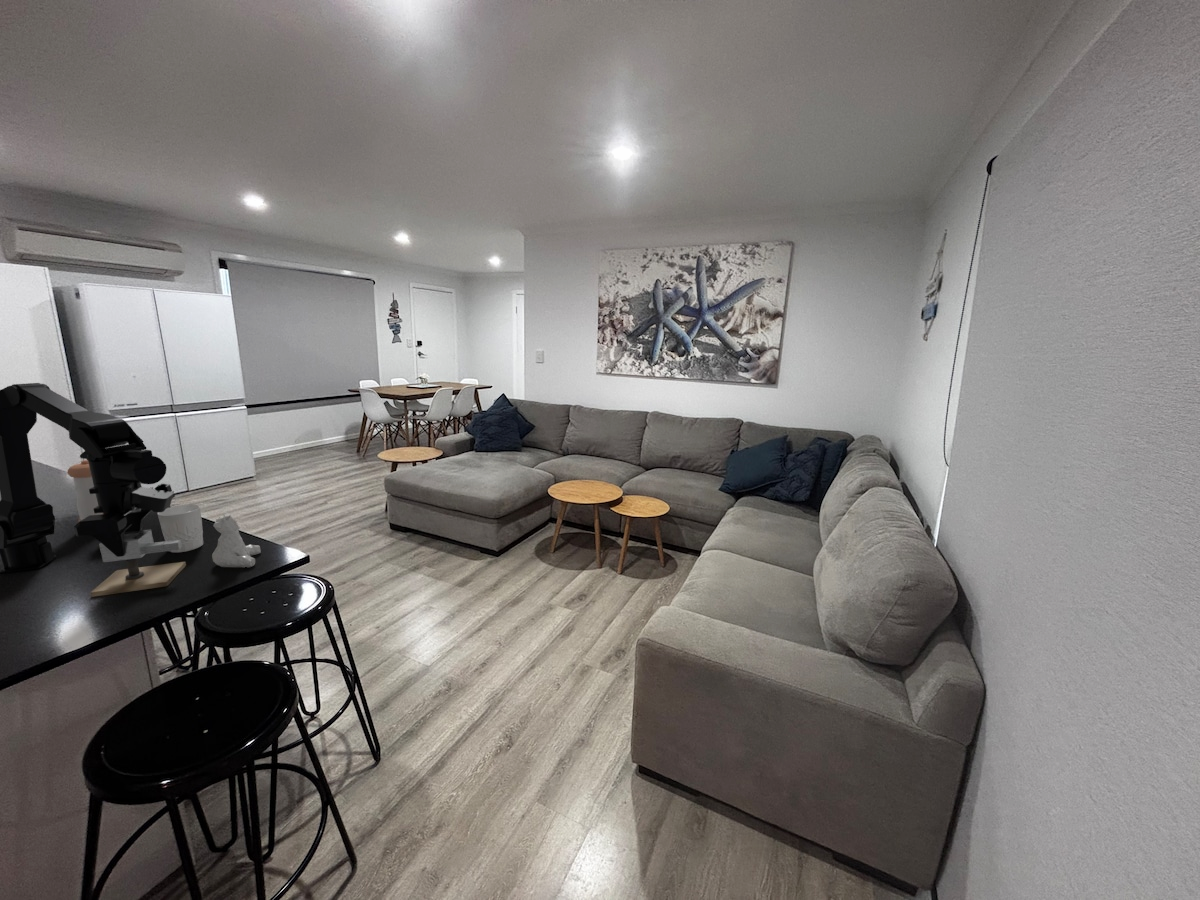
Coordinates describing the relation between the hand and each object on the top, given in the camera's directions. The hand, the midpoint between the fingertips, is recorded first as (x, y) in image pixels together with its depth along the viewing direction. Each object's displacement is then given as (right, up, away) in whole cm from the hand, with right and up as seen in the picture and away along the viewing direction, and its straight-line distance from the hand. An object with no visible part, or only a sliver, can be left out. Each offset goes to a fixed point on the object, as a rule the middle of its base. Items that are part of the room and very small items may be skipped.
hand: (128, 549), depth 99 cm
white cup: (-4, -3, +18) cm, 19 cm away
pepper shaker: (-36, 0, +28) cm, 45 cm away
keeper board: (+1, -7, +2) cm, 7 cm away
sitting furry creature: (+14, -6, +11) cm, 19 cm away
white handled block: (+2, -1, +1) cm, 3 cm away
